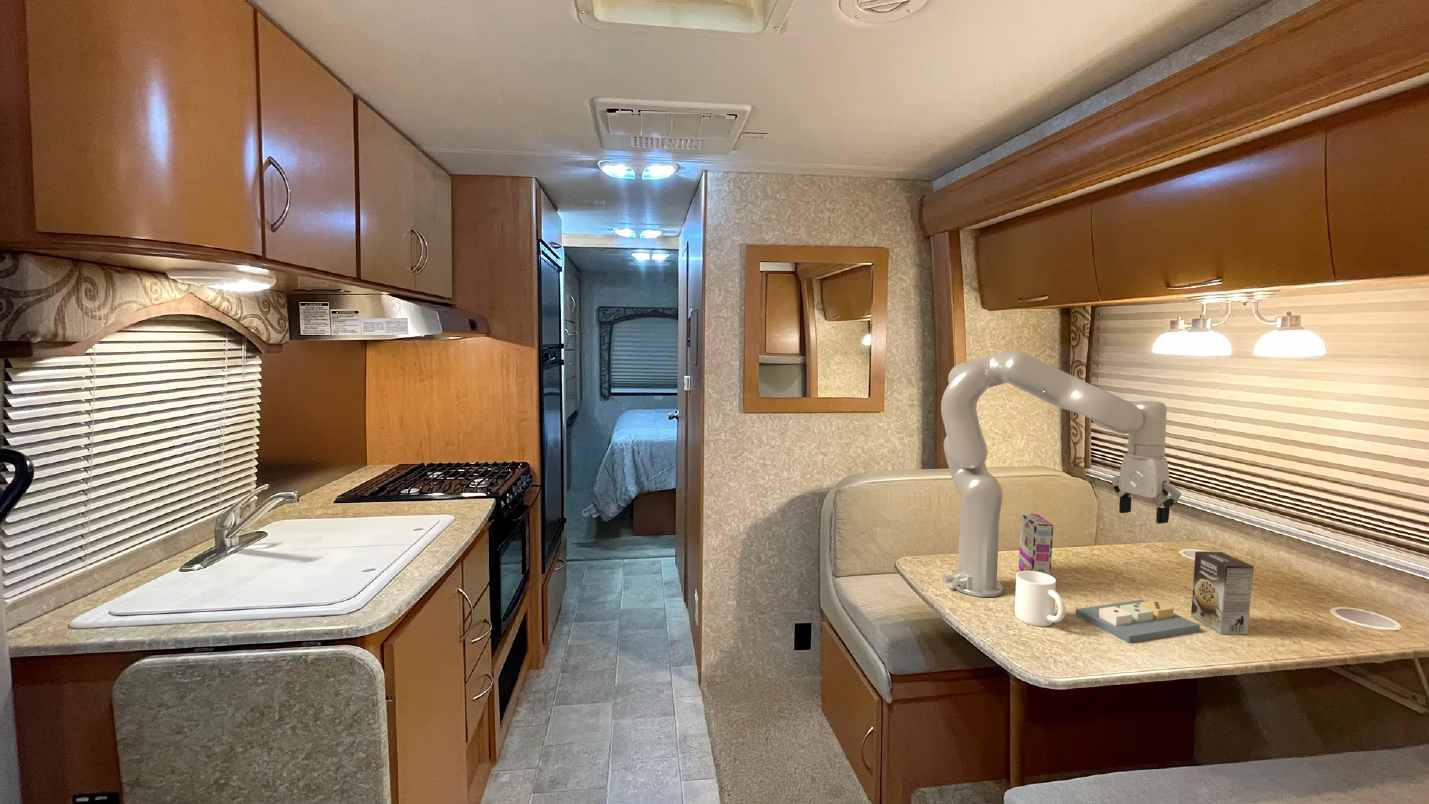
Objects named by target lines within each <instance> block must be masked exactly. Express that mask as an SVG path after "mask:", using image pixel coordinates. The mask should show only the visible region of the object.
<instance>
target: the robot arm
mask: <svg viewBox="0 0 1429 804" xmlns="http://www.w3.org/2000/svg"><path fill="white" fill-rule="evenodd" d="M947 378H948V379H947V380H948V385H947V386H946V388H945V389H944V392H943V395H942V397H941V398H942V399H941V402H940V413H941V418H942V422H943V425H944V430H945V434H946V436H945V438H944V440H943V451H944V455H945V458H946V462H947V465H948V469H949V473H950V476H951V479H952V482H953V485H954V488H955V490H956V491H957V493H959V495H960V496H961V506H960V507H961V509H960V512H959V514H960V515H959V538H958V542H959V543H958V568H956V569H954V573H952V574H951V575H950V574H947V575H945V574H944V575H942V577H941V581H942V582H943V583H944V584H949V583H951V585H952V587H953V588H954V589H955V590H957V591H958V592H960V593H963V594H966V595H969V596H973V597H980V598H992V597H998V596H1000V595H1002V594H1003V592H1004V586H1003V585H1002V584H1001V583H1000V582H999V581H998V567H999V566H998V565H999V564H998V562H999V561H998V560H999V538H1000V537H999V534H1000V533H999V531H1000V528H999V527H1000V516H1001V509H1002V505H1003V489H1002V486H1001V483H1000V482H999V481H998V479H997V478H996V477H995V476H994V475H993V474H991V473H990V472H989V471H988V468H987V465H986V461H987V458H988V446H987V443H986V440H985V437H984V433H983V431H982V427H981V424H980V422H979V421H980V420H979V416H978V409H977V405H978V401H979V399H980V398H981V396H982V395H983V394H984V393H986V391H987V390H988V389H990V388H993V387H997V386H1000V385H1005V384H1009V385H1011V386H1014V387H1016V388H1018V389H1019V390H1021V391H1024V392H1026V393H1028V394H1030V395H1032V396H1034V397H1036V398H1038V399H1040V400H1041V401H1044V402H1045V403H1048V404H1050V405H1052V406H1055V407H1057V408H1059V409H1062V410H1065V411H1069V412H1073V413H1074V414H1075V413H1076V414H1079V415H1081V416H1083V417H1086V418H1088V419H1090V420H1092V422H1093V423H1094V425H1096V426H1097V427H1100V428H1101V429H1105V430H1108V431H1111V432H1114V433H1118V434H1121V435H1122V434H1123V435H1128V437H1127V438H1128V439H1127V442H1126V443H1125V444H1124V448H1125V449H1127V453H1124V455H1123V458H1122V461H1121V465H1120V471H1119V476H1113V477H1112V478H1110V480H1111V483H1112V486H1113V489H1114V491H1115V492H1116V495H1117V497H1118V498H1119V505H1118V507H1119V509H1118V510H1119V513H1120V514H1129V513H1131V511H1132V496H1137V497H1142V498H1145V499H1149V500H1150V499H1151V500H1153V499H1154V501H1155V502H1156V503H1157V507H1156V511H1155V512H1156V516H1155V522H1156V524H1158V525H1159V524H1167V523H1169V519H1170V508H1172V507H1173V505H1175V504H1177V503H1178V500H1179V499H1180V498H1181V496H1182V492H1181V491H1179V490H1178V489H1177V488H1175V487H1174V486H1173V485H1172V484H1170V471H1169V470H1170V469H1169V463H1168V459H1167V457H1165V456H1166V455H1165V454H1166V433H1167V432H1166V430H1167V415H1168V414H1167V413H1168V411H1167V406H1166V404H1165V403H1164V402H1162V401H1154V400H1137V401H1127V400H1126V399H1123V398H1122V397H1120V396H1117V395H1115V394H1114V393H1111V392H1109V391H1107V390H1104V389H1102V388H1100V387H1098V386H1095V385H1093V384H1090V383H1088V382H1086V381H1084V380H1082V379H1081V378H1078V377H1076V376H1075V375H1072V374H1069V373H1067V372H1065V371H1063V370H1061V369H1059V368H1057V367H1055V366H1053V365H1050V364H1048V363H1046V362H1044V361H1042V360H1041V359H1039V358H1036V357H1034V356H1032V355H1031V354H1028V353H1025V352H1021V351H1014V350H1013V351H1012V350H1011V351H1004V352H999V353H996V354H992V355H988V356H985V357H981V358H977V359H973V360H968V361H964V362H961V363H958V364H957V365H954V366H953V367H952V369H951V370H950V371H949V373H948V377H947ZM1169 494H1170V496H1169ZM1131 495H1132V496H1131ZM1168 496H1169V497H1168Z"/></svg>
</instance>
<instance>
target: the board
mask: <svg viewBox="0 0 1429 804" xmlns="http://www.w3.org/2000/svg"><path fill="white" fill-rule="evenodd" d="M1141 602H1147V601H1146V600H1143V599H1137V600H1131V601H1122V602H1116V603H1109V604H1102V605H1096V606H1087V607H1081V608H1075V616H1076V617H1079V618H1081V620H1085V621H1086V622H1088V623H1091V624H1092V625H1094V626H1096V627H1098V628H1100V629H1101V630H1104V631H1105V632H1107V633H1108V634H1111V635H1113V636H1115V637H1116V638H1119V639H1121V640H1122V641H1124V642H1126V643H1129V644H1130V643H1137V642H1141V641H1142V642H1143V641H1149V640H1153V639H1160V638H1167V637H1172V636H1177V635H1180V636H1181V635H1184V634H1192V633H1197V632H1198V633H1199V632H1200V628H1201V627H1200V626H1201V624H1198V623H1197V622H1194V621H1191V620H1190V619H1187V618H1185V617H1183V616H1180V615H1178V614H1177V613H1174V612H1173V618H1166V619H1160V620H1158V619H1155V618H1153V621H1147V622H1140V623H1136V622H1134V621H1132V624H1127V625H1121V626H1115V625H1113V624H1111V623H1109V622H1107V621H1105V620H1103V619H1101V618H1099V609H1100V608H1107V607H1114V606H1115V607H1117V608H1120V605H1127V604H1134V603H1136V604H1138V605H1140V603H1141Z"/></svg>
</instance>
